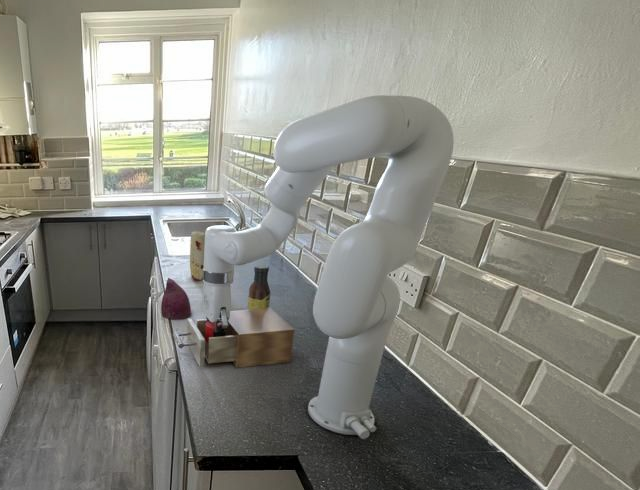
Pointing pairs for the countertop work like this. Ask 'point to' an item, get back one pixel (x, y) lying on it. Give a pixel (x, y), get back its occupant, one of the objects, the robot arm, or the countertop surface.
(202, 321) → the drawer
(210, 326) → the red cylinder
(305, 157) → the robot arm
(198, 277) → the food model
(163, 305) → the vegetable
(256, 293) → the sauce bottle
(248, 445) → the countertop surface
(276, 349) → the cabinet
